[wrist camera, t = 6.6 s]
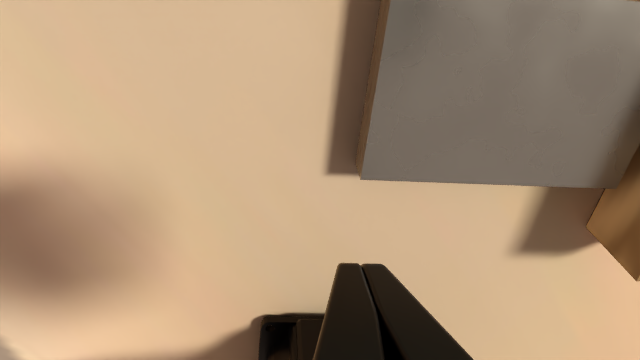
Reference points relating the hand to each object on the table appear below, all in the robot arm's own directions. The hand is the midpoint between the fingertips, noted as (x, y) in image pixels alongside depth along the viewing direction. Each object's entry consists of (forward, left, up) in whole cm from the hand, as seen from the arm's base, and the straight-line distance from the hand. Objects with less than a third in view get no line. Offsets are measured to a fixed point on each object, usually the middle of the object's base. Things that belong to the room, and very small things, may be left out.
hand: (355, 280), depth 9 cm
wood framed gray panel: (0, -8, -12) cm, 15 cm away
